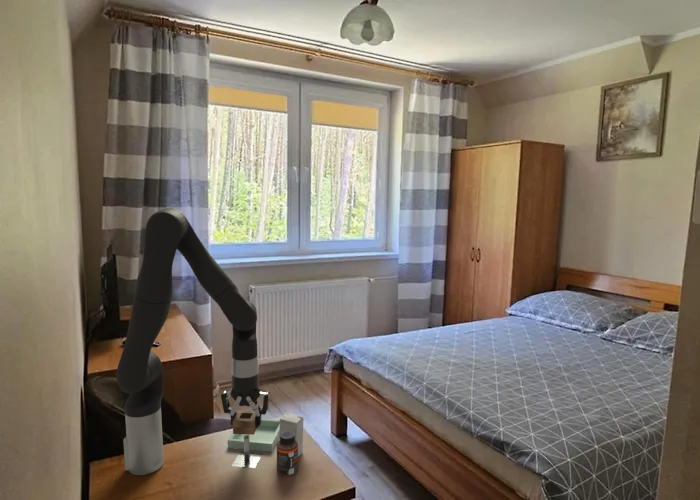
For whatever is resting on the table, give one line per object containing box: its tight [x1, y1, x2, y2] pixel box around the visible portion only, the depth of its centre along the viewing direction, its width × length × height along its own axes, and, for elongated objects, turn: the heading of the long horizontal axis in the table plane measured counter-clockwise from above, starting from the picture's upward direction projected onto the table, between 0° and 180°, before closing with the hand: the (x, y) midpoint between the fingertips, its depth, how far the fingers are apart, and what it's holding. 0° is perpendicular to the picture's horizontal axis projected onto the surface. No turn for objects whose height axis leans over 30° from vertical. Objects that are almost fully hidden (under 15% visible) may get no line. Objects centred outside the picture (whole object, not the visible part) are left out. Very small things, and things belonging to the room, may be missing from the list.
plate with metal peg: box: [231, 435, 263, 469], centre depth 131 cm, size 7×7×8 cm
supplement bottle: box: [276, 431, 299, 478], centre depth 126 cm, size 6×6×11 cm
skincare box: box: [278, 412, 304, 458], centre depth 134 cm, size 6×4×12 cm
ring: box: [232, 409, 257, 435], centre depth 131 cm, size 6×7×4 cm
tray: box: [227, 417, 280, 453], centre depth 143 cm, size 14×14×3 cm
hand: (246, 426), depth 130 cm, fingers closed on ring, 6 cm apart
